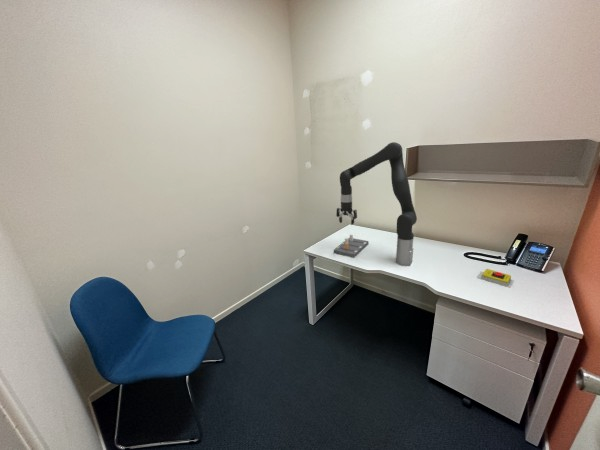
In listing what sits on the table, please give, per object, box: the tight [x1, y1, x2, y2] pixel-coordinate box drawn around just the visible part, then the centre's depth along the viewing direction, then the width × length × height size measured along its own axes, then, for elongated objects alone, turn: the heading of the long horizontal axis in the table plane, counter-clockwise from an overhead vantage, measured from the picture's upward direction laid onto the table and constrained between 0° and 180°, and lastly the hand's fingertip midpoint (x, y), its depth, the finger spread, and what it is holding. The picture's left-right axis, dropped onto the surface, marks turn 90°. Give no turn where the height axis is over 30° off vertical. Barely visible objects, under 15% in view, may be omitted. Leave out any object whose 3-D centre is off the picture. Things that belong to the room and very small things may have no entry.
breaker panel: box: [333, 234, 370, 259], centre depth 184 cm, size 16×26×7 cm, turn 144°
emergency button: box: [476, 268, 514, 288], centre depth 136 cm, size 9×4×15 cm
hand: (346, 223), depth 172 cm, fingers open, 8 cm apart
